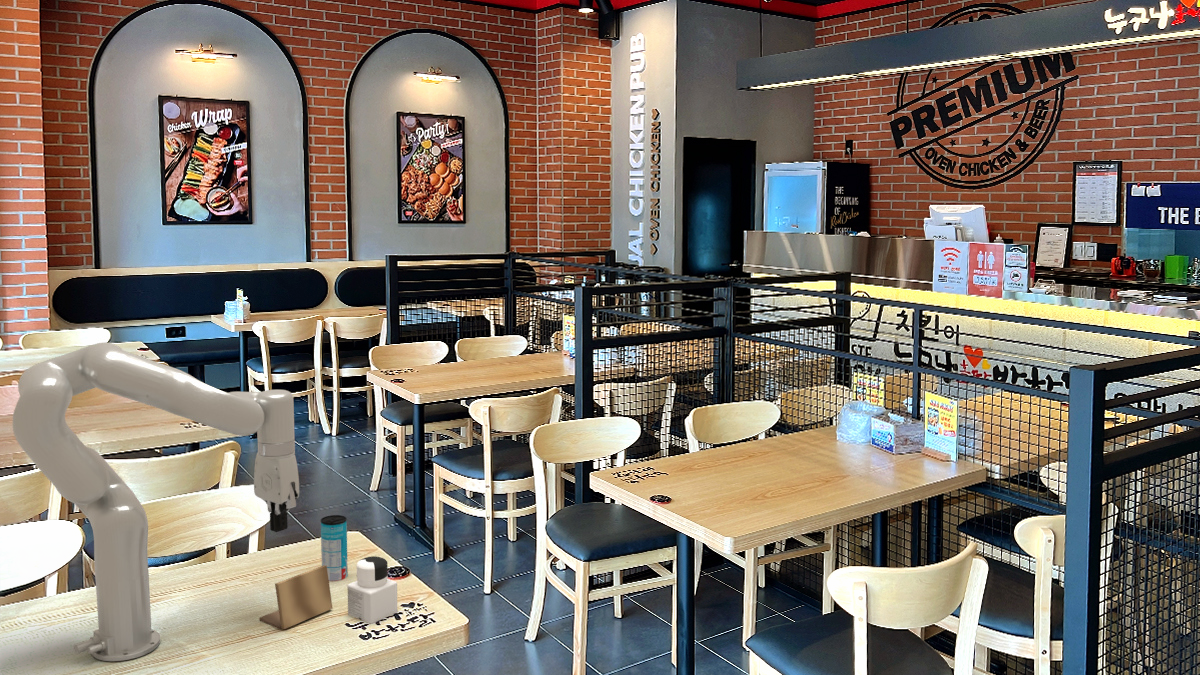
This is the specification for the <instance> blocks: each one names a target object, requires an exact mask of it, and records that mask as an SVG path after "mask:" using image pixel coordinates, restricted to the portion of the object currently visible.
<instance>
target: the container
mask: <svg viewBox="0 0 1200 675" xmlns="http://www.w3.org/2000/svg"><path fill="white" fill-rule="evenodd" d="M388 568H389V566H388V560H386V559H385V558H383V557H380V556H367V557H363V558H362V559H360V560H358V561H357V563H356V580H355V581H352V582H351V583H347V615H348V616H350V617H353V618H355V619H358V620H360V621H363V622H365V623H368V624H370V625H372V624H375V623H377V622H379V621H381V620H384V619H386V618H387V617H391V615H394V614H396V613H398V582H397V581H395V580H392V579H390V578H388V574H389V572H388Z"/></svg>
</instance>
